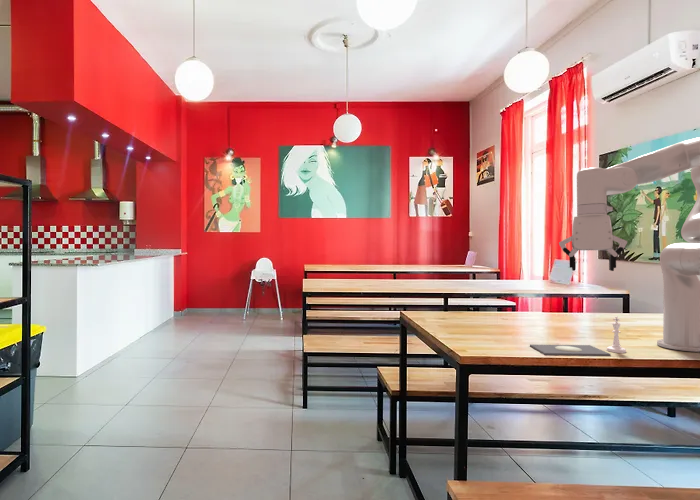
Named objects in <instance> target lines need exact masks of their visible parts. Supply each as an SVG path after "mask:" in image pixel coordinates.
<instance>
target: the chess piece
mask: <svg viewBox="0 0 700 500" xmlns="http://www.w3.org/2000/svg"><path fill="white" fill-rule="evenodd" d="M614 317H615V318H613V319H612V321H615V322H612V323H611V324H612V326H613V329H614V330H612V331H611V332H612V333H614V335H613V343H612V344H611V345H610V346H607V347H606V352H609V353H615V354H617V353H618V354H625V353H627V349H626V348H624V347H623V346H621V345H620V339H619V338H620V337H619V334H621V330H619V329H620V327H621V323H619V322H618V321H621V319H620V318H619V317H618V316H614Z"/></svg>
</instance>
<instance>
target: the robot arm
mask: <svg viewBox="0 0 700 500" xmlns="http://www.w3.org/2000/svg"><path fill="white" fill-rule="evenodd" d="M690 169H691V171H690V178H691V181H692V184H693V185H694V188H695V191H696V196H697V197H696V201H695V203H694V205H693V207H692V209H691V210H690V212H689V213H688V216H687V217H686V219H685V221H684V223H683V224H682V227H681V230H680V234H681V235H680V236H681V237H682V239H683V240H684V241H685V242H675V243H671V244H669V245H667V246H665V247H664V248H663V249H662V251H660V254H659V264H660V268H661V273H662V281H663V311H662V312H663V315H662V317H663V323H662V324H663V327H662V328H663V331H662V332H663V333H662V335H663V337H662V339H658V340H657V341H656V344H657V346H659V347H661V348H666V349H670V350H676V351H683V352H692V353H693V352H696V353H699V352H700V279H699V277H698V276H700V136H699V137H695V138H690V139H686V140H683V141H680V142H677V143H674V144H671V145H668V146H665V147H663V148H660V149H657V150H655V151H652V152H649V153H646V154H643V155H640V156H638V157H635V158H633V159H630V160H627V161H625V162H622V163H618V164H615V165H613V166H610V167H607V168H602V167H589V168H588V167H587V168H582V169H580V170H579V171H578V172H577V173H576V214H577V215H576V216H574V217H573V220H572V221H573V222H572V227H571V228H572V230H571V231H572V232H571V233H572V234H571V236H569V237H567V238H565V239H563V240H561V241H559V242H558V244H559V247H560V248H561V250H562V251H563V253H565V254H566V255H567V256H568V257H569V269H571V270H572V271H576V263H577V262H576V257H575V255H576V253H578V252H579V251H606V252H607V253H608V254H609V257H608V262H609V263H608V269H609V271H611V272H614V270H615V269H616V268H617V257H618V256H619V255H620V254H621V253H622V252H623V251H624V249H625V248H626V246H627V244H628V241H627V240H626V239H623V238H621V237H618V236H616V235H614V234H613V228H612V227H613V226H612V221H611V217H610V215H608V213H609V212H613V209H614V208H613V206H609V205H608V202H607V201H608V200H607V196H612V195H619V194H624V193H627V192H630V191H632V190H634V188H635V187H636V186H638V185H643V184H648V183H652V182H657V181H661V180H663V179H666V178H668V177H670V176H673V175H676V174H678V173H681V172H684V171H687V170H690ZM570 242H571V247H572V249H571V250H569V249H568V248H567V246H566V245H567V244H568V243H570ZM614 242H617V243H618V244H619V246H618V247H616V249H615V250H614V249H613V247H614V246H613V245H614Z"/></svg>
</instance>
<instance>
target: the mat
mask: <svg viewBox="0 0 700 500" xmlns="http://www.w3.org/2000/svg"><path fill="white" fill-rule="evenodd" d="M529 347H530V348H532V349H534V350H535V351H537V352H539V353H541V354H542V355H544V356H591V357H592V356H593V357H594V356H595V357H596V356H597V357H600V356H601V357H607V356H608V357H609V356H610V357H611V353H610V352H608V351H604V350H602V349H600V348H598V347H595V346H593V345H591V344H530V343H529Z"/></svg>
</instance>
